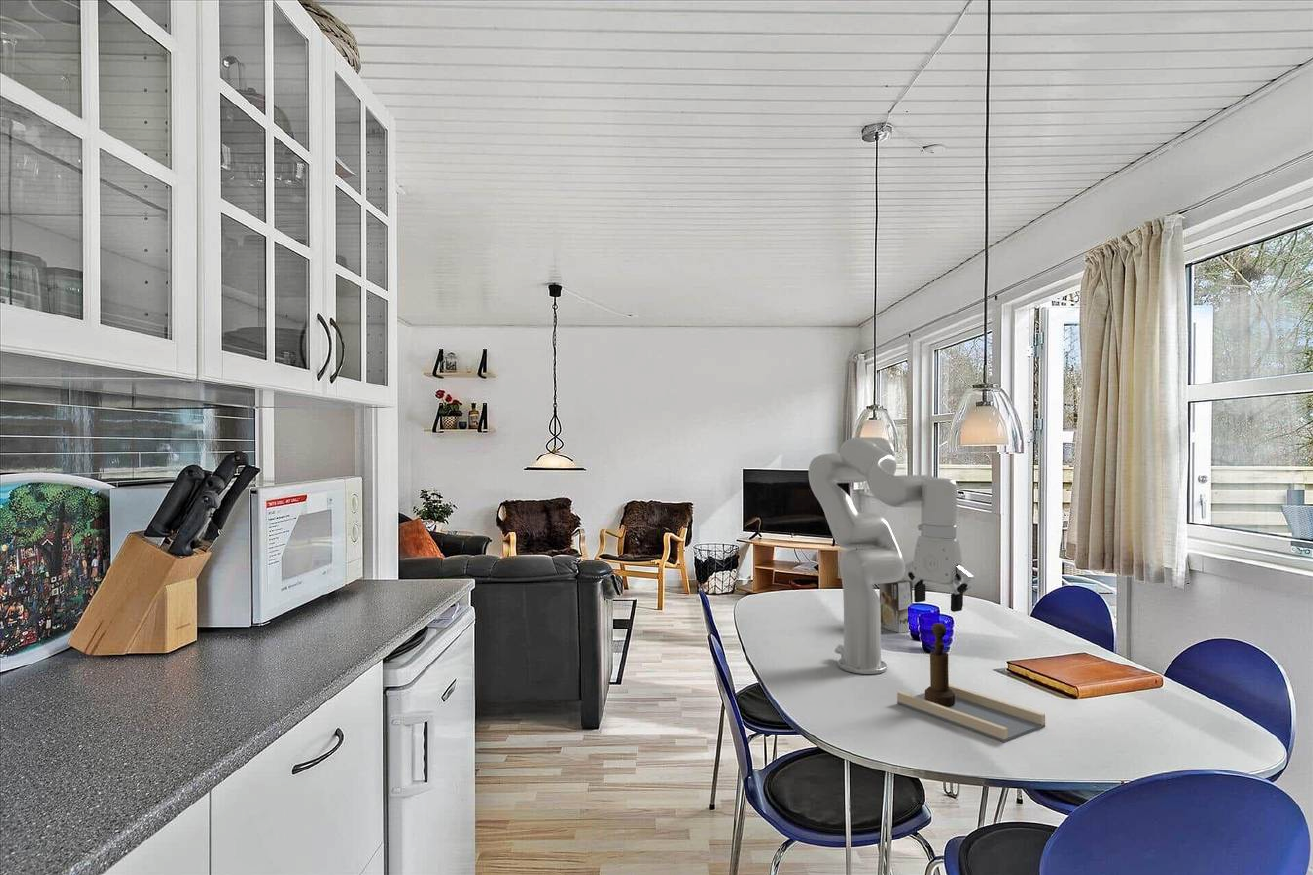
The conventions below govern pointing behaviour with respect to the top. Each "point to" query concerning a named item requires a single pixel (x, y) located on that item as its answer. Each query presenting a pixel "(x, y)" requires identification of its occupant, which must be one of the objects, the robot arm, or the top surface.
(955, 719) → the grey tray beige rails
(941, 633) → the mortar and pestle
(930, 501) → the robot arm
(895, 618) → the coffee box
